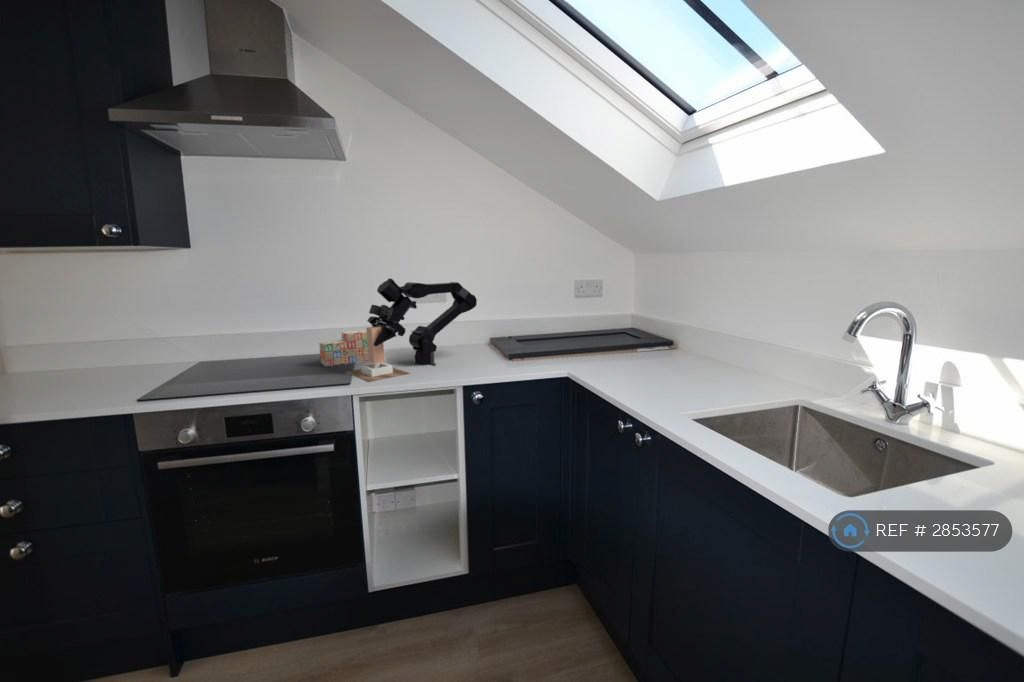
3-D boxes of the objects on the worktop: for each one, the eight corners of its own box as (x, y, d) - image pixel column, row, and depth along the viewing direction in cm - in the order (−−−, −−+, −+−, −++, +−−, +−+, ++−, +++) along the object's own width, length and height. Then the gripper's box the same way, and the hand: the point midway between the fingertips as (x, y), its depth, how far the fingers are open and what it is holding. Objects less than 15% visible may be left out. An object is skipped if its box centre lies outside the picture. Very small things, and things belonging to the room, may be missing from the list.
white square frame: (382, 368, 176) (381, 362, 175) (392, 372, 170) (392, 365, 169) (361, 372, 170) (361, 365, 170) (372, 376, 165) (371, 369, 164)
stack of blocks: (325, 367, 184) (323, 336, 181) (320, 365, 188) (318, 334, 186) (378, 359, 197) (376, 330, 194) (372, 357, 202) (370, 328, 199)
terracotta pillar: (379, 360, 172) (376, 326, 170) (384, 362, 169) (382, 327, 167) (369, 362, 170) (366, 327, 167) (374, 363, 167) (371, 329, 164)
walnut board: (385, 367, 183) (385, 364, 182) (410, 376, 169) (410, 373, 169) (345, 375, 172) (344, 371, 172) (368, 385, 158) (368, 382, 158)
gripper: (370, 294, 174) (343, 327, 169) (395, 297, 161) (367, 334, 156) (391, 313, 181) (366, 346, 176) (416, 318, 167) (390, 353, 162)
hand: (371, 344), depth 167 cm, fingers closed on terracotta pillar, 4 cm apart
